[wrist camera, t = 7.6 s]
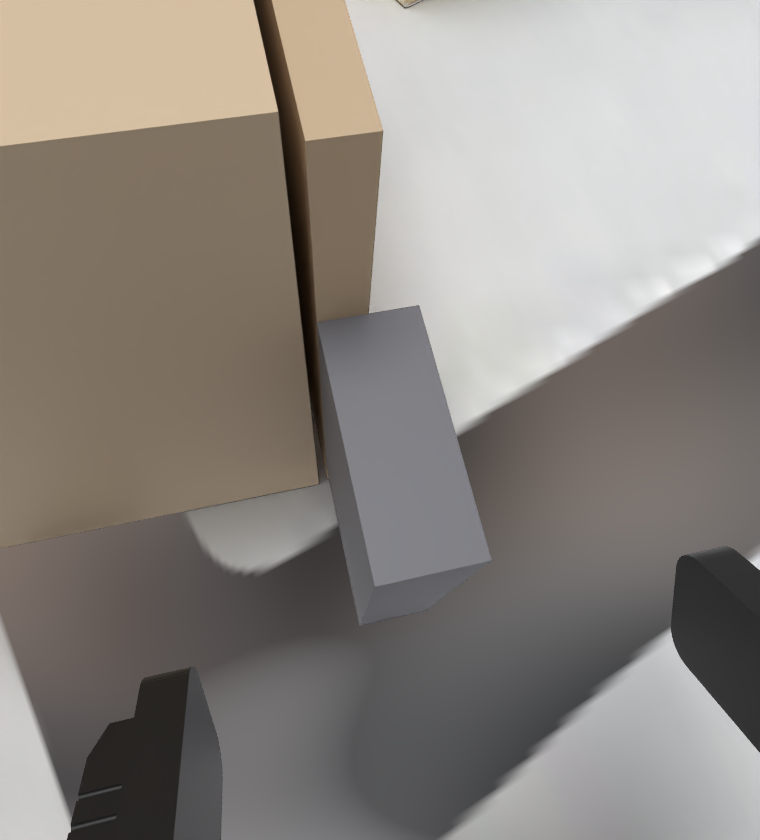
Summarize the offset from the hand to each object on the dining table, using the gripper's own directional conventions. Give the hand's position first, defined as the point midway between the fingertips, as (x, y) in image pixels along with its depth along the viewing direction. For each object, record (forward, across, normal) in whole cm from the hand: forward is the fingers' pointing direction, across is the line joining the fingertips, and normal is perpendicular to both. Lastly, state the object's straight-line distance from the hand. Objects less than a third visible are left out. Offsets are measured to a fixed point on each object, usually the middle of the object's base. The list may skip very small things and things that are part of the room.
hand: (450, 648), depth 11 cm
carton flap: (+16, 0, -1) cm, 16 cm away
